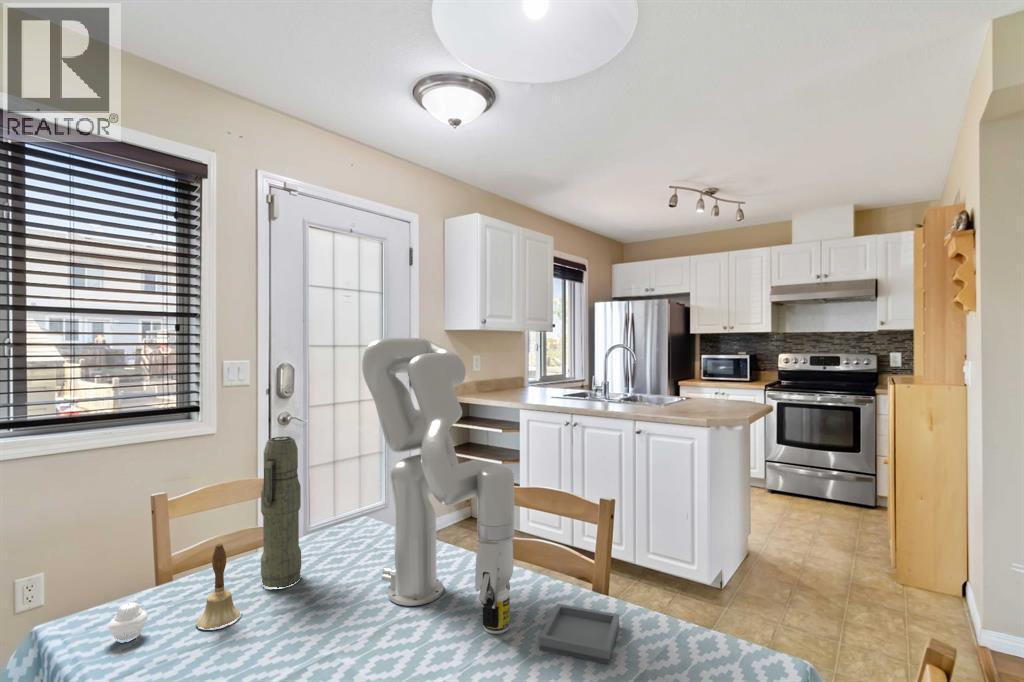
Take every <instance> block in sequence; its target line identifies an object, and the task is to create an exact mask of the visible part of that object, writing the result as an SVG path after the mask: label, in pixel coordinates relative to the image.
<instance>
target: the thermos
mask: <svg viewBox="0 0 1024 682" xmlns="http://www.w3.org/2000/svg"><path fill="white" fill-rule="evenodd" d="M298 453H299V449H298V445H297V443H296V440H295V438H293V437H291V436H275V437H271V438H270V439H269V440H267V441H266V444H265V447H264V449H263V483H262V486H261V488H260V489H261V490H260V512H261V514H262V518H263V519H262V521H263V523H262V525H263V528H262V531H263V533H262V534H263V535H262V536H263V538H262V539H263V544H262V546H263V547H262V549H263V550H262V551H263V552H262V553H261V554H262V555H261V557H260V576H261V584H262V583H263V585H265V586H268V587H277V588H279V587H286V586H289V585H291V584H294V583H295V582H297V581H298V580H299V579H300V580H301V578H300V576H301V570H302V550H301V547H300V545H299V544H300V537H299V535H300V534H299V531H300V530H299V529H300V528H299V526H300V523H299V520H300V519H299V518H300V517H299V515H300V514H299V513H300V509H301V504H302V501H301V500H302V499H301V496H302V495H301V493H302V492H301V490H302V489H301V484H300V480H299V474H298V469H299V468H298V467H299V465H298V464H299V459H298V458H299V454H298Z"/></svg>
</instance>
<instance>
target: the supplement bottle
mask: <svg viewBox="0 0 1024 682" xmlns="http://www.w3.org/2000/svg"><path fill="white" fill-rule="evenodd" d="M489 590H494V589H493V588H492V587H489ZM509 592H510V590H508V589H507V588H506V584H505V586H504V587H503V588H502V589H501V590H500V591H499V592H498V597H497V607H498V608H499V626H498V627H497V628H492V627H487V626H484V625H483V624H482V626H483V630H484V631H485V632H487V633H488V634H493V635H494V634H495V635H496V634H497V635H498V634H503V633H505V632H507V631H508V630H509V629H510V623H511V622H510V620H511V619H510V615H511V613H510V612H511V611H510V610H511V608H510V606H511V603H510V602H511V601H510V600H511V597H510V595H511V594H510V593H509ZM488 597H489V598H491V599H492V600H493V594H488Z"/></svg>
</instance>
